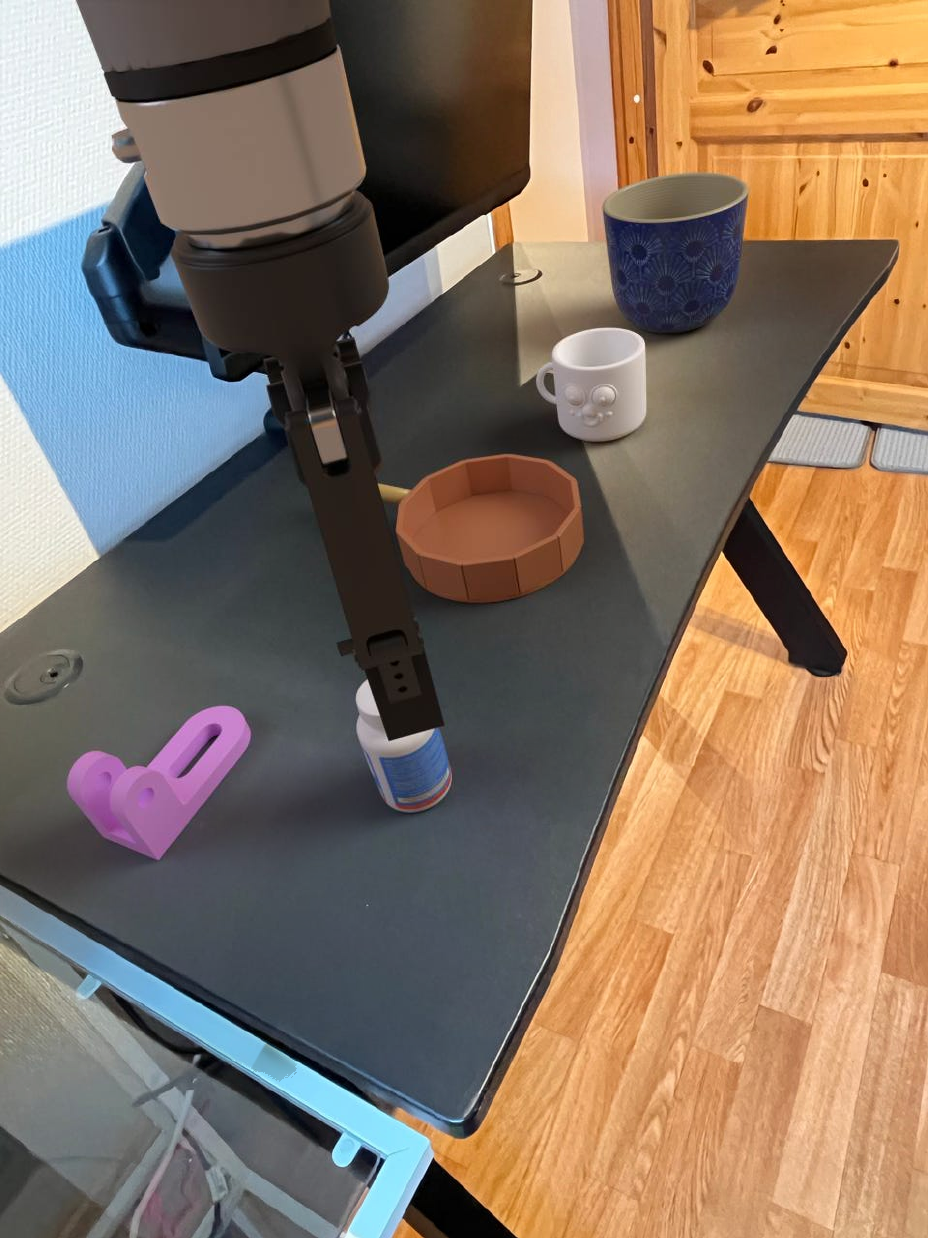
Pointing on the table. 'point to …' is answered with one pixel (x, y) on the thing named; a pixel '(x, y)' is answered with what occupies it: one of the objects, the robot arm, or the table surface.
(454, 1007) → the table surface
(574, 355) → the mug
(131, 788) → the bracket
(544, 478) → the pan
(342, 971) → the table surface
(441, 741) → the pill bottle
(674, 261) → the planter
